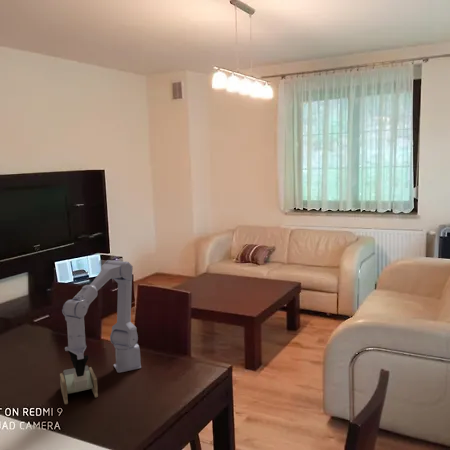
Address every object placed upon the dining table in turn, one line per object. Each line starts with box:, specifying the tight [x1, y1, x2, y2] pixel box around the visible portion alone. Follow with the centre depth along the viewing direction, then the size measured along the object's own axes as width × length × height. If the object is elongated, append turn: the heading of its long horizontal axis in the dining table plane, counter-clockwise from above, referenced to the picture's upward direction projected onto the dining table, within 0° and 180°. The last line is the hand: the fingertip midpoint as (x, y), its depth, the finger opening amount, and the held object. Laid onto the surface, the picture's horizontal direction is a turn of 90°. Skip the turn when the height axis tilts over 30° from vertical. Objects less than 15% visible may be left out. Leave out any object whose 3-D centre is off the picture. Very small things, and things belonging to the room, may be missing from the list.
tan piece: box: [59, 366, 99, 405], centre depth 164 cm, size 11×11×6 cm
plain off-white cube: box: [73, 370, 87, 391], centre depth 161 cm, size 4×4×5 cm
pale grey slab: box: [62, 364, 93, 395], centre depth 165 cm, size 8×10×3 cm
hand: (78, 371), depth 161 cm, fingers open, 7 cm apart
